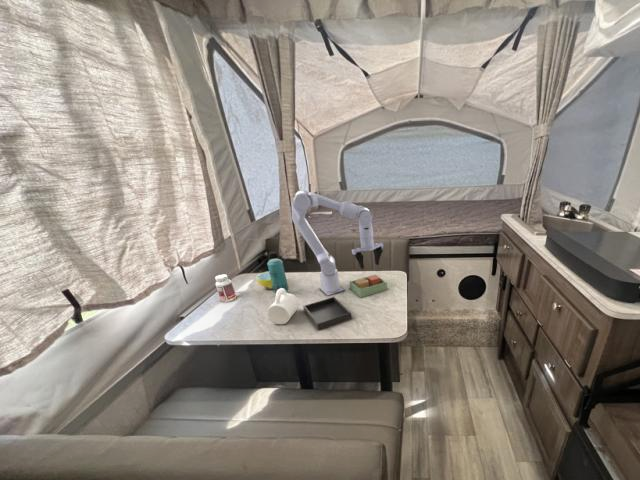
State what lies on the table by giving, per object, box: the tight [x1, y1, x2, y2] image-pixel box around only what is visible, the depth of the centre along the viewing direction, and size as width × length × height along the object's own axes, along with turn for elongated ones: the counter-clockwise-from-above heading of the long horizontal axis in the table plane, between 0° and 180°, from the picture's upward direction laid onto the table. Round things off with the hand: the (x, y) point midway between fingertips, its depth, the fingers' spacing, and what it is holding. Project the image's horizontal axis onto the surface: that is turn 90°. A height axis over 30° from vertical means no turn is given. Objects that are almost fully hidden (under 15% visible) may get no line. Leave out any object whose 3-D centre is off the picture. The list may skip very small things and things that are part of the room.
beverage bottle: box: [266, 251, 290, 295], centre depth 136 cm, size 6×7×20 cm
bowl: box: [255, 270, 274, 290], centre depth 147 cm, size 11×12×6 cm
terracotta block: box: [366, 274, 381, 287], centre depth 142 cm, size 4×4×4 cm
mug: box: [266, 288, 300, 325], centre depth 119 cm, size 8×10×12 cm
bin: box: [349, 274, 388, 298], centre depth 141 cm, size 11×13×4 cm
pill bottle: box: [214, 273, 237, 303], centre depth 137 cm, size 6×6×11 cm
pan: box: [302, 296, 352, 331], centre depth 122 cm, size 17×13×2 cm
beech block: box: [355, 277, 369, 289], centre depth 139 cm, size 4×4×4 cm
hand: (369, 266), depth 141 cm, fingers open, 7 cm apart
